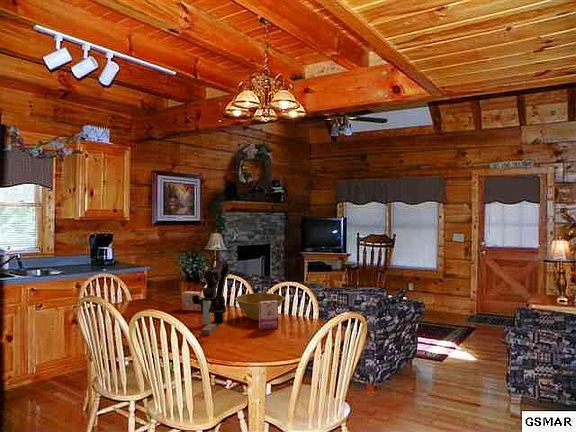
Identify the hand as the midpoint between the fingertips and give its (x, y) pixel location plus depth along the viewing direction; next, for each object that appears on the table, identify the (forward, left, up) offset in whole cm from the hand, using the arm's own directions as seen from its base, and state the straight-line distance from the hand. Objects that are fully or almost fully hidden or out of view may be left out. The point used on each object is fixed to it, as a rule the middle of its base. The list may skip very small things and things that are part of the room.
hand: (205, 312), depth 261 cm
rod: (-1, 0, -7) cm, 7 cm away
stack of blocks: (-59, -25, -13) cm, 66 cm away
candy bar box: (-19, +33, -13) cm, 40 cm away
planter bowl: (-43, +23, -13) cm, 51 cm away
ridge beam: (-6, 0, -13) cm, 14 cm away
